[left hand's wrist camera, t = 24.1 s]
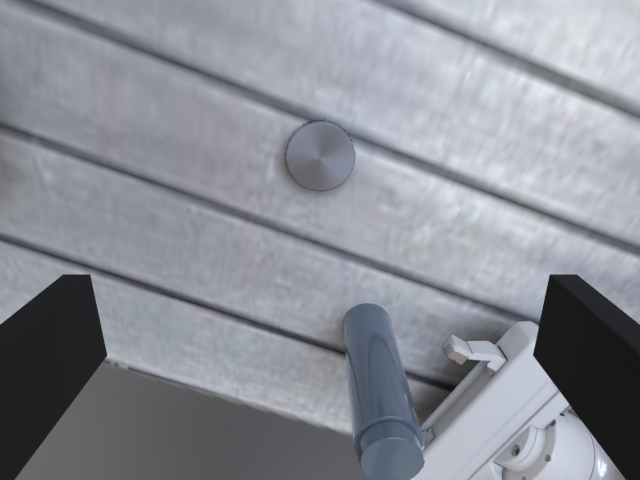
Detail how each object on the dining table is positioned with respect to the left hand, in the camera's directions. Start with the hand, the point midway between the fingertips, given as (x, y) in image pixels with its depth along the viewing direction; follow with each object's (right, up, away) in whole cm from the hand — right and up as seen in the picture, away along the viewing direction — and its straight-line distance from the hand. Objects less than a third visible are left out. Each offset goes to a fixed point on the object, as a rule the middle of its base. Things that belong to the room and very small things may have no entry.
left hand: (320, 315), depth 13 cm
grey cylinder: (+5, -6, +32) cm, 33 cm away
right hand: (+9, -11, +27) cm, 30 cm away
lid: (0, +9, +24) cm, 26 cm away
